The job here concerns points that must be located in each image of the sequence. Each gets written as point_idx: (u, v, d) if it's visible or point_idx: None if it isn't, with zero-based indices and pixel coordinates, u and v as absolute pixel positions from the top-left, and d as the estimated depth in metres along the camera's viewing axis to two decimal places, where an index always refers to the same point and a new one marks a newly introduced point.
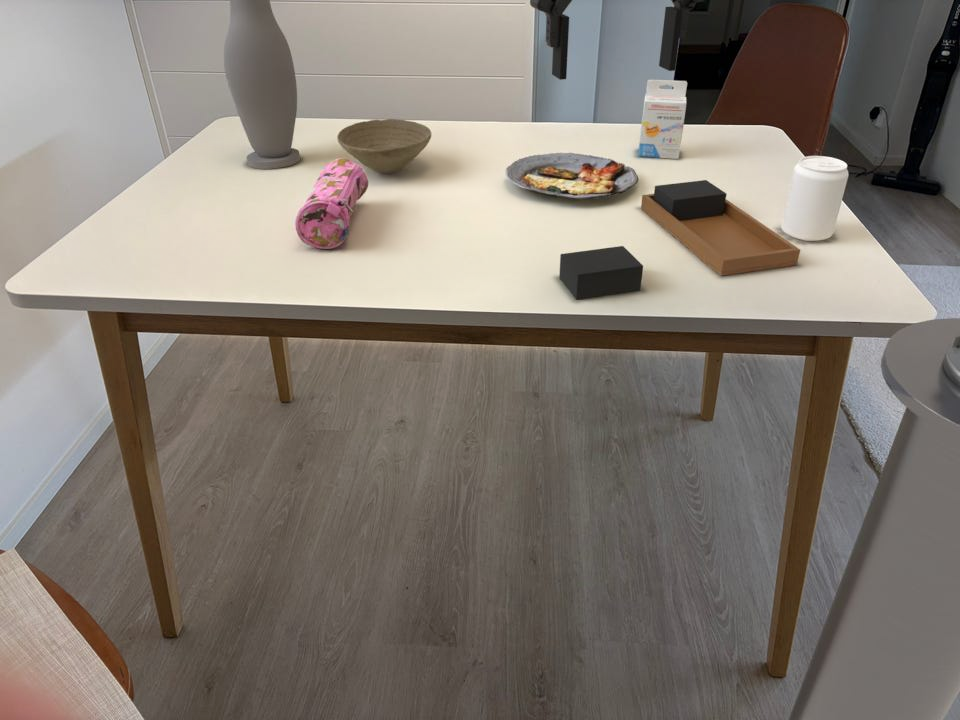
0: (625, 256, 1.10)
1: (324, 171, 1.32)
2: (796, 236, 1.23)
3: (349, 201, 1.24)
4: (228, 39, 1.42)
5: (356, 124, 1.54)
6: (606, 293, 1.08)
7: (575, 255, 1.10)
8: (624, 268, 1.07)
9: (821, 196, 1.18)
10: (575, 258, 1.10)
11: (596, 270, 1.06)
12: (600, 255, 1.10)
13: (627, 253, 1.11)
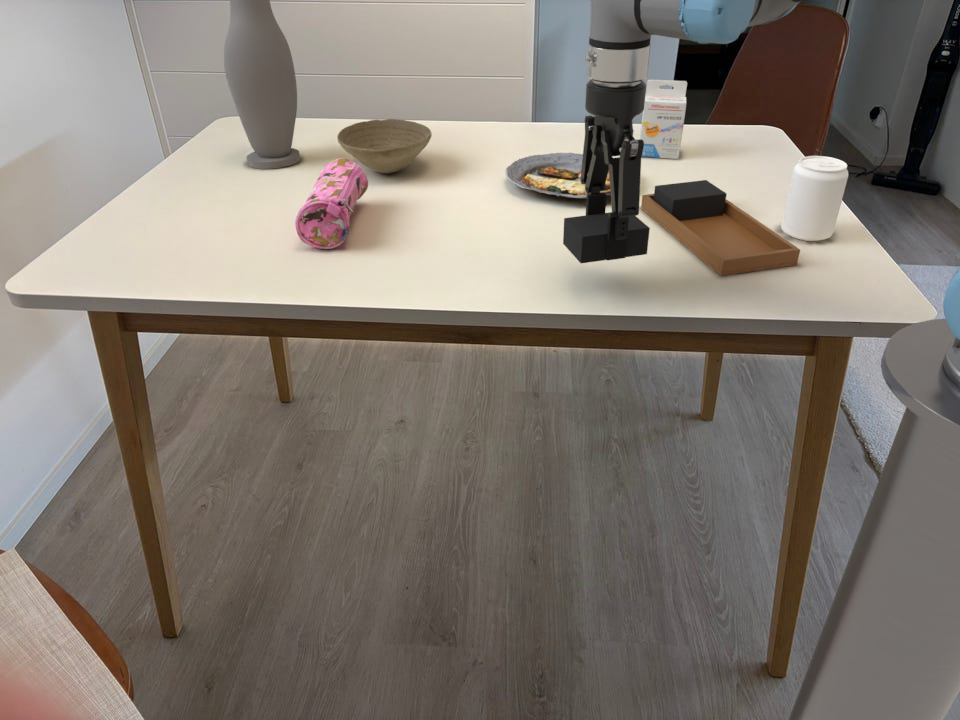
0: (631, 220, 1.06)
1: (324, 171, 1.32)
2: (796, 236, 1.23)
3: (349, 201, 1.24)
4: (228, 39, 1.42)
5: (356, 124, 1.54)
6: None
7: (579, 219, 1.07)
8: (630, 230, 1.03)
9: (821, 196, 1.18)
10: (579, 221, 1.06)
11: (601, 233, 1.03)
12: (605, 218, 1.07)
13: (633, 216, 1.07)
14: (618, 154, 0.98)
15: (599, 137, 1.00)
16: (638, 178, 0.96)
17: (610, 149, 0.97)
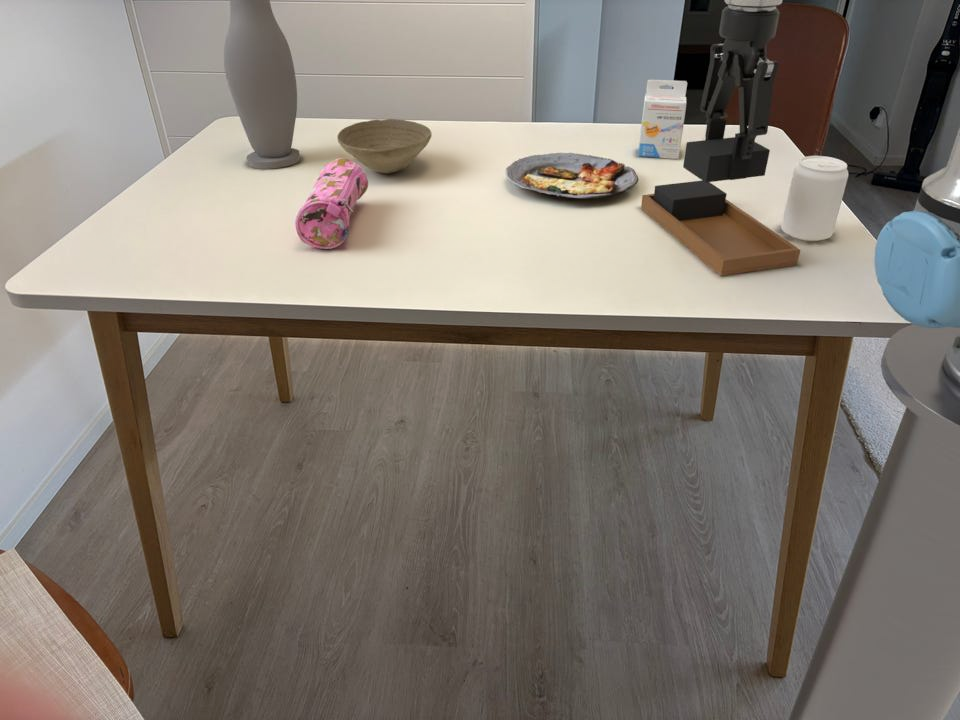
0: None
1: (324, 171, 1.32)
2: (796, 236, 1.23)
3: (349, 201, 1.24)
4: (228, 39, 1.42)
5: (356, 124, 1.54)
6: None
7: (701, 143, 1.15)
8: (752, 152, 1.11)
9: (821, 196, 1.18)
10: (702, 145, 1.14)
11: (726, 153, 1.11)
12: (725, 142, 1.15)
13: None
14: (748, 77, 1.06)
15: (729, 62, 1.08)
16: (770, 98, 1.04)
17: (743, 72, 1.05)
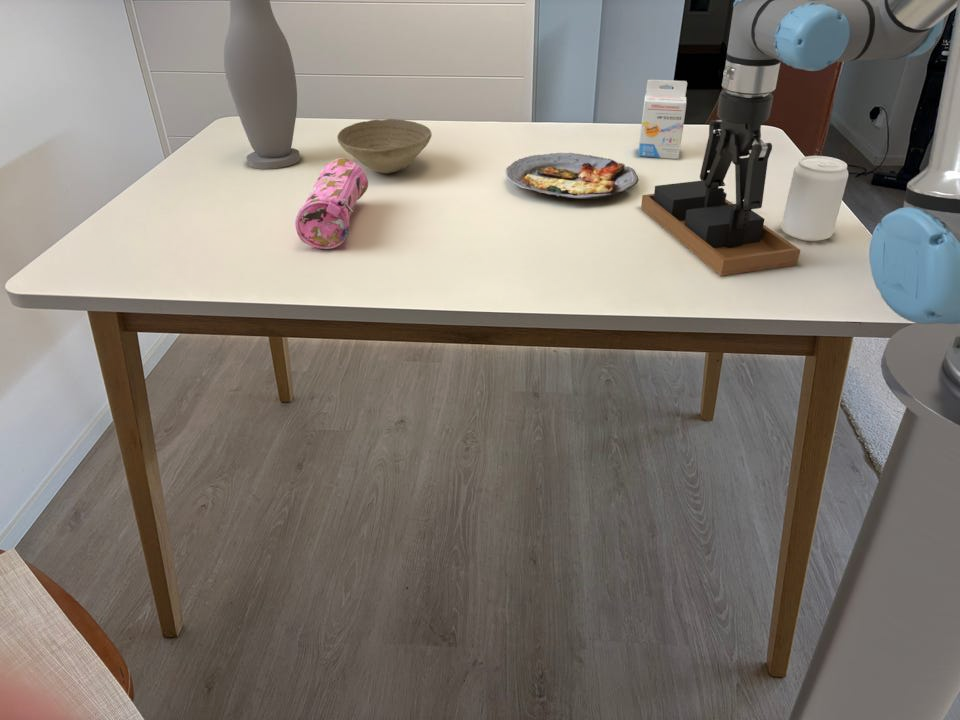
0: None
1: (324, 171, 1.32)
2: (796, 236, 1.23)
3: (349, 201, 1.24)
4: (228, 39, 1.42)
5: (356, 124, 1.54)
6: None
7: (700, 211, 1.22)
8: (748, 221, 1.19)
9: (821, 196, 1.18)
10: (701, 213, 1.22)
11: (723, 222, 1.18)
12: (723, 210, 1.22)
13: None
14: (744, 155, 1.14)
15: (726, 140, 1.15)
16: (764, 176, 1.11)
17: (739, 150, 1.13)
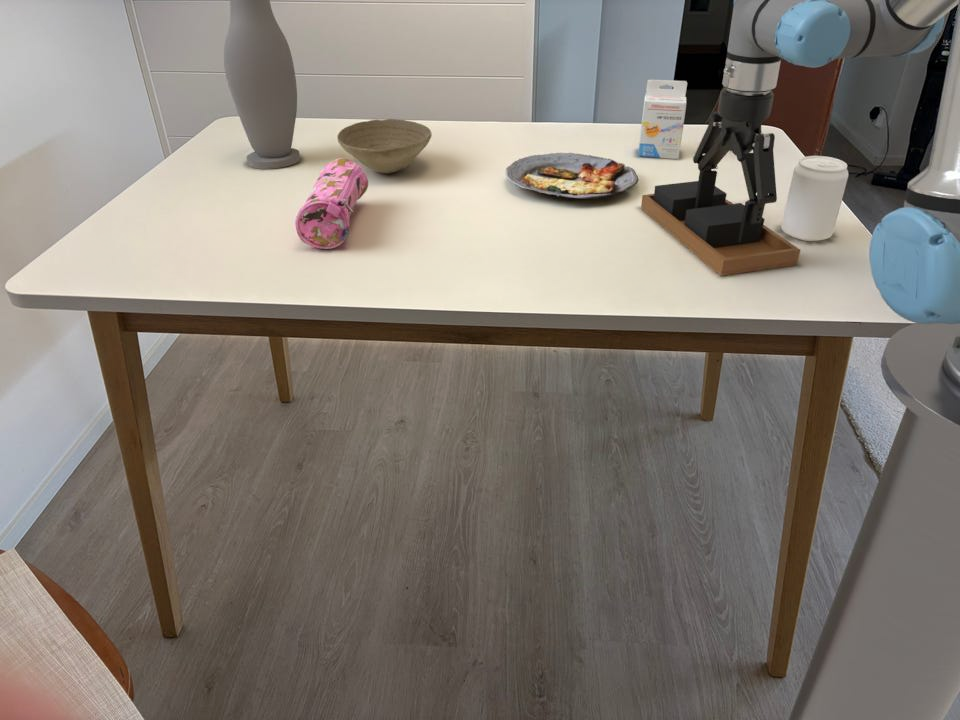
0: None
1: (324, 171, 1.32)
2: (796, 236, 1.23)
3: (349, 201, 1.24)
4: (228, 39, 1.42)
5: (356, 124, 1.54)
6: (730, 244, 1.20)
7: (700, 211, 1.22)
8: None
9: (821, 196, 1.18)
10: (701, 213, 1.22)
11: (723, 222, 1.18)
12: (723, 210, 1.22)
13: None
14: (745, 153, 1.13)
15: (726, 138, 1.15)
16: (772, 167, 1.09)
17: (742, 146, 1.12)
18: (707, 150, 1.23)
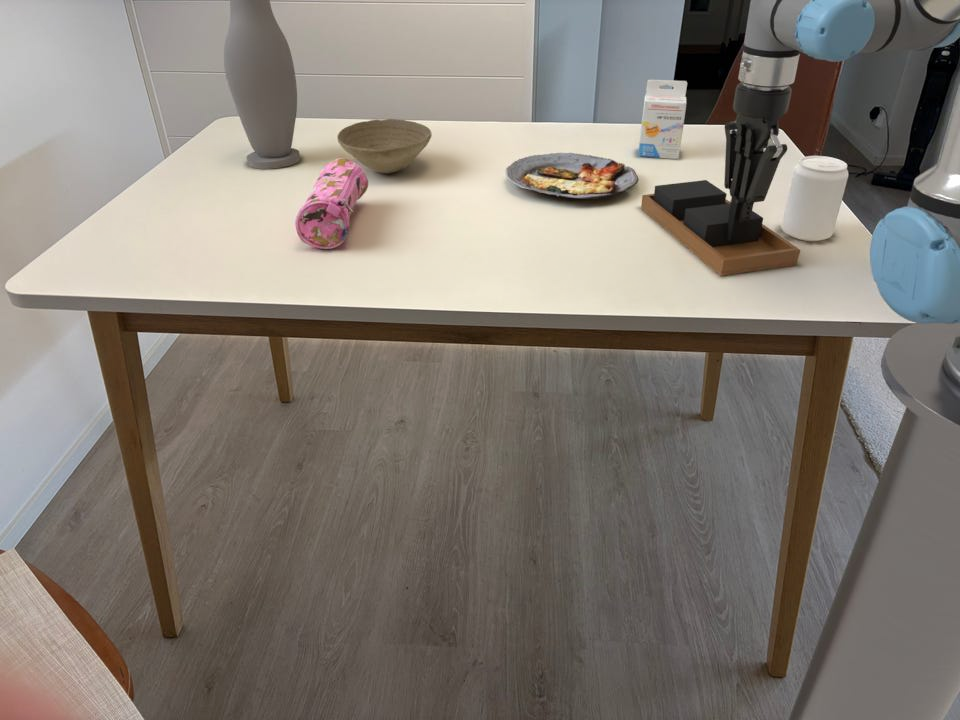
0: None
1: (324, 171, 1.32)
2: (796, 236, 1.23)
3: (349, 201, 1.24)
4: (228, 39, 1.42)
5: (356, 124, 1.54)
6: (729, 243, 1.21)
7: (699, 210, 1.23)
8: None
9: (821, 196, 1.18)
10: (700, 212, 1.22)
11: (722, 222, 1.19)
12: (722, 209, 1.23)
13: None
14: (761, 150, 1.09)
15: (743, 134, 1.11)
16: (773, 174, 1.09)
17: (753, 146, 1.09)
18: None
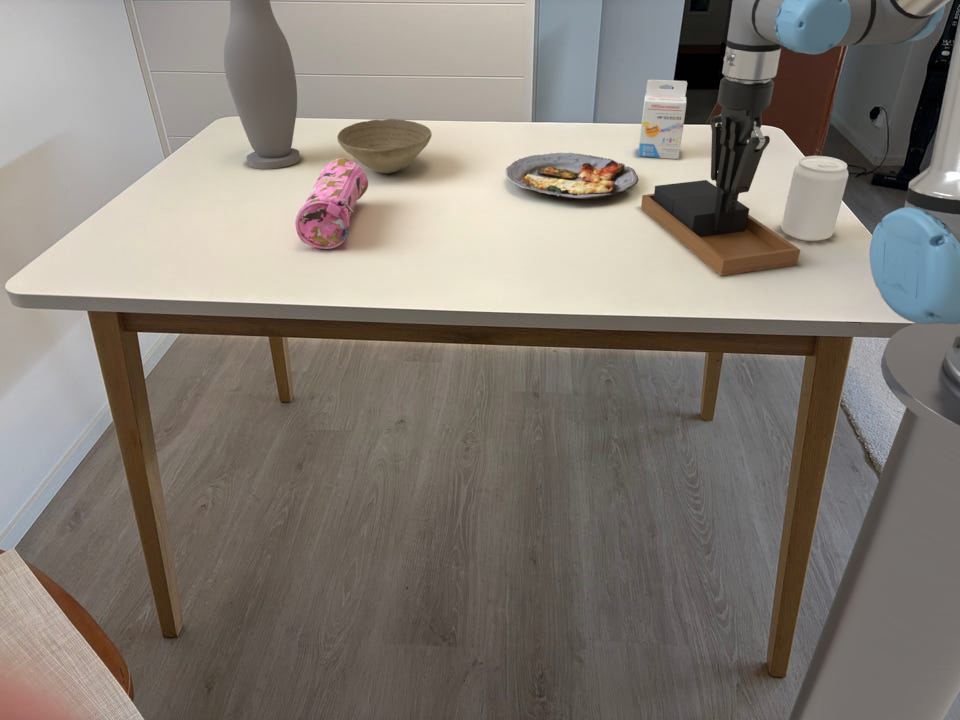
0: None
1: (324, 171, 1.32)
2: (796, 236, 1.23)
3: (349, 201, 1.24)
4: (228, 39, 1.42)
5: (356, 124, 1.54)
6: (716, 233, 1.24)
7: (687, 201, 1.26)
8: None
9: (821, 196, 1.18)
10: (688, 203, 1.25)
11: (709, 212, 1.22)
12: (709, 200, 1.26)
13: None
14: (745, 142, 1.13)
15: (728, 127, 1.14)
16: (756, 165, 1.13)
17: (737, 138, 1.13)
18: None
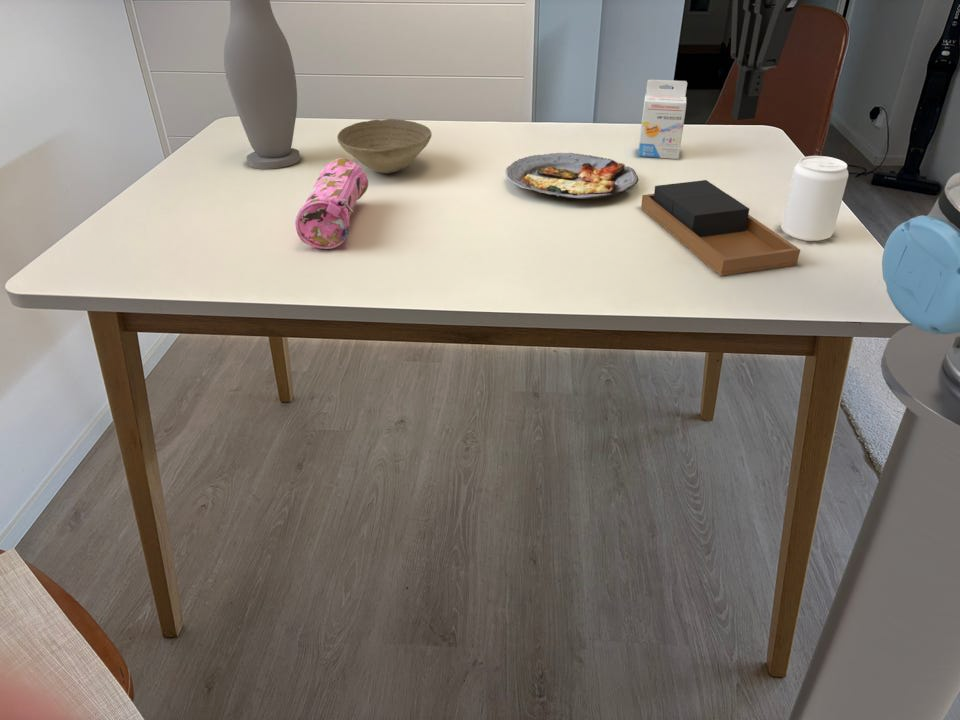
0: (731, 202, 1.25)
1: (324, 171, 1.32)
2: (796, 236, 1.23)
3: (349, 201, 1.24)
4: (228, 39, 1.42)
5: (356, 124, 1.54)
6: (716, 233, 1.24)
7: (687, 201, 1.26)
8: (733, 211, 1.22)
9: (821, 196, 1.18)
10: (688, 203, 1.25)
11: (709, 212, 1.22)
12: (709, 200, 1.26)
13: (733, 199, 1.26)
14: (774, 3, 0.94)
15: None
16: (787, 30, 0.94)
17: None
18: None
